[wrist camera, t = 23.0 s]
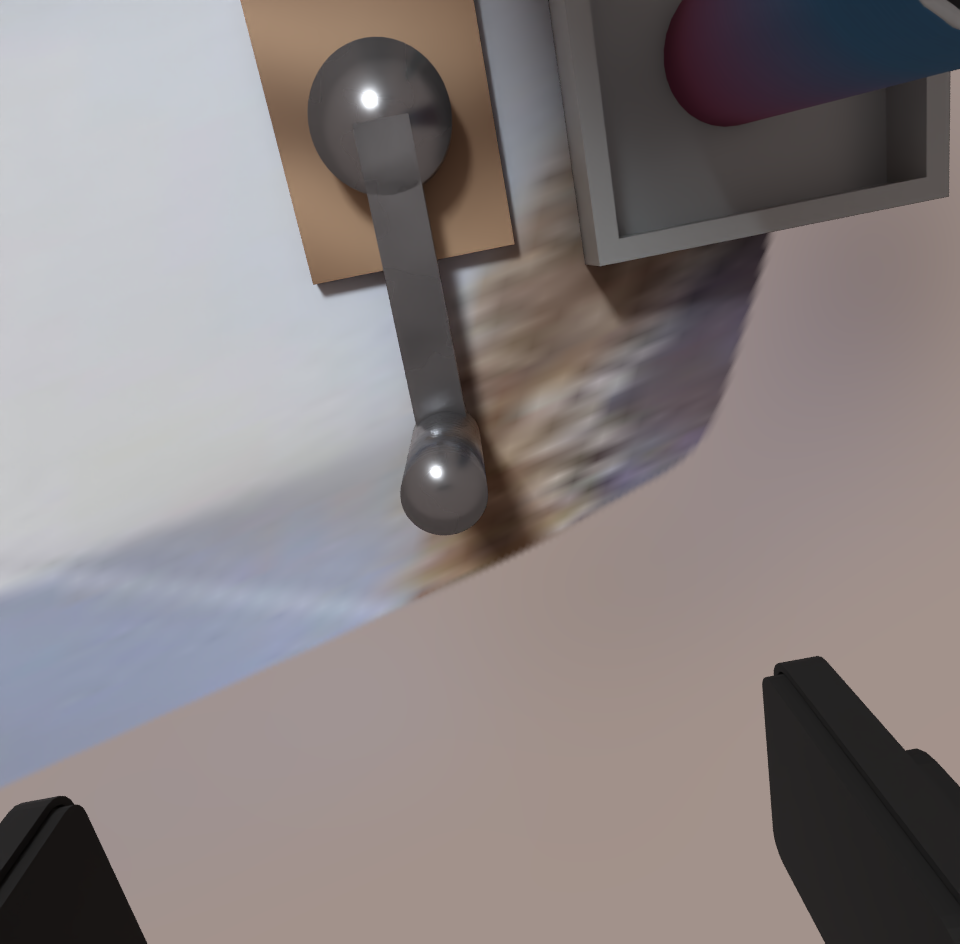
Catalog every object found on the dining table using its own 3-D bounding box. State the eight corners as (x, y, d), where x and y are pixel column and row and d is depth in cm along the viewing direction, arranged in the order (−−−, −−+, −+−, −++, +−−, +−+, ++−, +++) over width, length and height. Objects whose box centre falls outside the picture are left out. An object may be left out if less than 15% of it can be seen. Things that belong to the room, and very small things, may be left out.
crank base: (243, -1, 25) (238, -7, 25) (464, -48, 25) (464, -56, 24) (379, 534, 32) (378, 539, 31) (556, 500, 31) (558, 505, 31)
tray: (533, -108, 25) (543, -154, 22) (895, -185, 24) (954, -243, 21) (585, 264, 28) (599, 266, 26) (898, 201, 28) (948, 196, 25)
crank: (298, 60, 25) (241, -8, 18) (437, 33, 25) (431, -45, 18) (394, 480, 30) (377, 548, 23) (511, 458, 30) (528, 520, 23)
